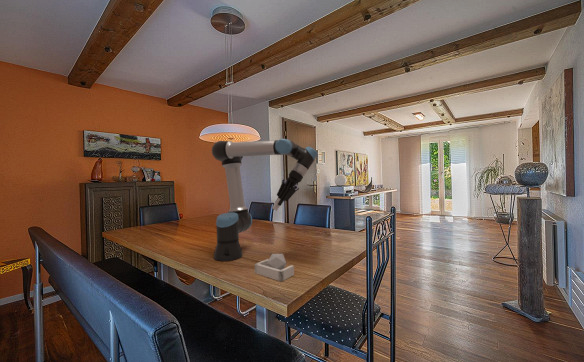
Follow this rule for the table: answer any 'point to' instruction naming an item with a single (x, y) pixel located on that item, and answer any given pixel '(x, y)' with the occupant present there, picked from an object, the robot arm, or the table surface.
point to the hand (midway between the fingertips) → (274, 209)
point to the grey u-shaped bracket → (273, 271)
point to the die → (277, 261)
